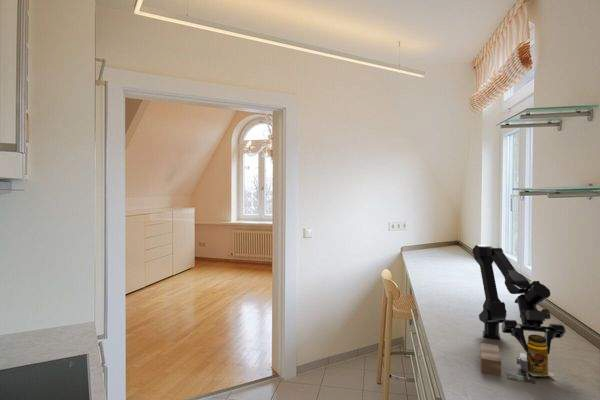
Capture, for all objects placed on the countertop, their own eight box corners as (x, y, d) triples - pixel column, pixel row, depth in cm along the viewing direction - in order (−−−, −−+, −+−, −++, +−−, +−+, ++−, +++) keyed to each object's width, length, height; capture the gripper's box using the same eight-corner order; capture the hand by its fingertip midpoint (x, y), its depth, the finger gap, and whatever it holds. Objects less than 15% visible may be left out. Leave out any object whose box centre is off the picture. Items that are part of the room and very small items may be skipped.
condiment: (533, 376, 124) (533, 341, 124) (518, 364, 133) (518, 331, 132) (555, 376, 124) (555, 340, 124) (538, 364, 133) (538, 331, 132)
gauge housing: (480, 355, 142) (480, 342, 141) (529, 363, 135) (529, 350, 135) (481, 373, 128) (481, 359, 128) (535, 383, 121) (536, 368, 121)
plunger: (515, 363, 134) (515, 352, 133) (525, 365, 132) (525, 353, 132) (519, 377, 124) (519, 365, 124) (529, 379, 123) (529, 366, 122)
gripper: (504, 297, 134) (511, 340, 124) (564, 301, 129) (577, 346, 119) (498, 311, 142) (505, 352, 132) (554, 316, 137) (566, 359, 126)
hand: (537, 352), depth 127 cm, fingers closed on condiment, 6 cm apart
